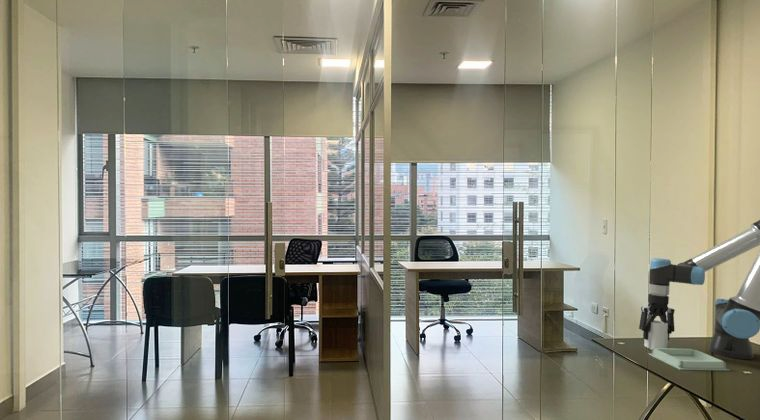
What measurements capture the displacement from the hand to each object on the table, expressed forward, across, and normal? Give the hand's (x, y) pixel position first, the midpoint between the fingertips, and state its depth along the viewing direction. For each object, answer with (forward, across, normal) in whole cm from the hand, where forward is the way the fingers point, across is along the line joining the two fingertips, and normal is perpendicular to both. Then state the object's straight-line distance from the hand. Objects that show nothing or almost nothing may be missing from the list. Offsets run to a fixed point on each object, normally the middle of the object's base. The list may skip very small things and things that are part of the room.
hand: (655, 347), depth 193 cm
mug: (+1, -1, 0) cm, 1 cm away
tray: (+1, -2, +16) cm, 16 cm away
